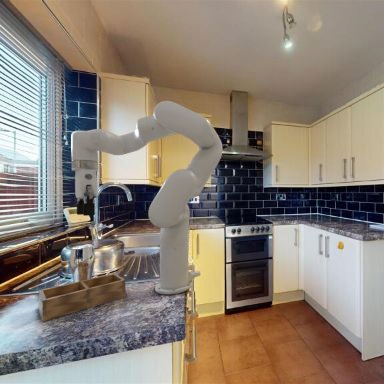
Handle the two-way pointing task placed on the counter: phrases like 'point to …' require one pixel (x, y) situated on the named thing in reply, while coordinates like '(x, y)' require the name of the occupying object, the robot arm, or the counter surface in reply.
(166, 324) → the counter surface
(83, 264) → the beer glass
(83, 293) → the holder
